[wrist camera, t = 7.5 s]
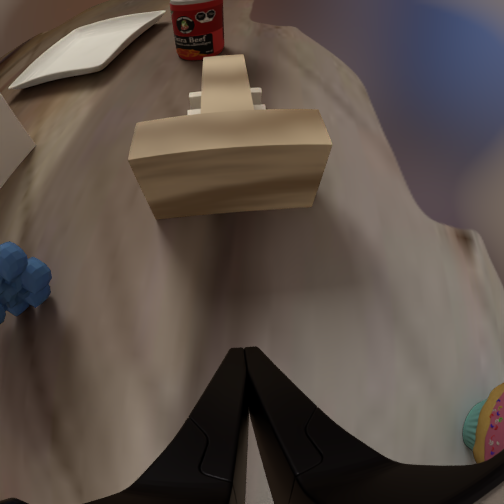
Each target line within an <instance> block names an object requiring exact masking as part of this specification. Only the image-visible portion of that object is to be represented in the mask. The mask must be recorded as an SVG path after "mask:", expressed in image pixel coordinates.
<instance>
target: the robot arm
mask: <svg viewBox="0 0 504 504" xmlns="http://www.w3.org/2000/svg"><path fill="white" fill-rule="evenodd" d="M249 413H250V418H251V422H252V426H253V430H254V433H255V437H256V441H257V445H258V448H259V452H260V456H261V459H262V463H263V467H264V470H265V474H266V477H267V481H268V484H269V488H270V491H271V494H272V498H273V501H274V504H504V449H503V450H502V451H500V452H499V453H498V454H496V455H495V456H493V457H492V458H490V459H488V460H486V461H484V462H481V463H477V464H473V465H461V466H433V465H412V464H403V463H399V462H396V461H393V460H391V459H388V458H386V457H385V456H383V455H381V454H380V453H378V452H377V451H375V450H374V449H372V448H370V447H369V446H367V445H366V444H364V443H363V442H361V441H360V440H358V439H357V438H355V437H354V436H352V435H351V434H350V433H348V432H347V431H345V430H344V429H343V428H341V427H340V426H339V425H337V424H336V423H335V422H334V421H333V420H332V419H330V418H329V417H328V416H327V415H326V414H325V413H324V412H323V411H322V410H321V409H320V408H318V407H317V406H316V405H315V404H314V403H313V402H312V401H311V400H310V399H309V398H308V397H307V396H306V395H305V394H304V393H303V392H302V391H301V390H300V389H299V388H298V387H297V386H296V385H295V384H294V383H293V382H292V381H291V380H290V379H289V378H288V377H287V376H286V375H285V374H284V373H283V372H282V371H281V370H280V369H279V368H278V367H277V366H276V365H275V364H274V363H273V362H272V361H271V360H270V359H269V358H268V357H267V356H266V355H265V354H264V353H263V352H262V351H261V350H260V349H259V348H258V347H245V348H244V349H243V348H231V349H230V350H229V351H228V353H227V355H226V356H225V358H224V360H223V361H222V363H221V365H220V366H219V368H218V370H217V371H216V373H215V374H214V376H213V378H212V379H211V381H210V383H209V384H208V386H207V388H206V389H205V391H204V392H203V394H202V396H201V397H200V399H199V401H198V402H197V404H196V405H195V407H194V409H193V410H192V412H191V413H190V415H189V418H187V420H186V421H185V423H184V424H183V426H182V427H181V429H180V430H179V432H178V433H177V435H176V436H175V437H174V439H173V440H172V441H171V443H170V444H169V445H168V446H167V447H166V449H165V450H164V451H163V452H162V453H161V454H160V455H159V457H158V458H157V459H156V460H155V461H154V462H153V463H152V464H151V465H150V466H149V468H148V469H147V470H146V471H145V472H144V473H143V474H142V475H141V476H140V477H139V478H138V479H137V480H136V481H135V482H134V483H133V484H132V485H131V486H129V487H128V488H126V489H125V490H123V491H121V492H119V493H117V494H114V495H111V496H108V497H104V498H101V499H98V500H95V501H91V502H88V503H84V504H245V494H246V472H247V450H248V428H249ZM0 504H28V503H26V502H24V501H21V500H19V499H16V498H8V499H5V500H1V501H0Z"/></svg>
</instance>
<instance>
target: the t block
mask: <svg viewBox="0 0 504 504" xmlns="http://www.w3.org/2000/svg"><path fill="white" fill-rule="evenodd" d="M332 145H333V144H332V142H331V139H330V137H329V134H328V132H327V129H326V127H325V124H324V122H323V119H322V117H321V115H320V112H319V110H312V109H265V110H254V106H253V101H252V96H251V90H250V85H249V80H248V75H247V70H246V65H245V59H244V54H242V55H224V56H211V57H203V71H202V90H201V114H194V115H185V116H178V117H170V118H163V119H157V120H151V121H145V122H139V123H137V124H136V128H135V131H134V136H133V140H132V144H131V148H130V153H129V157H128V161H129V164H130V166H131V168H132V170H133V172H134V175H135V177H136V179H137V181H138V183H139V185H140V188H141V190H142V192H143V194H144V196H145V198H146V200H147V202H148V204H149V206H150V208H151V210H152V212H153V214H154V217H155V219H156V220H157V219H166V218H176V217H186V216H196V215H207V214H219V213H231V212H243V211H256V210H271V209H286V208H303V207H312V205H313V202H314V199H315V196H316V193H317V190H318V187H319V184H320V181H321V178H322V175H323V172H324V169H325V166H326V163H327V160H328V157H329V154H330V151H331V148H332Z"/></svg>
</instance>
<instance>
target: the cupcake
mask: <svg viewBox="0 0 504 504" xmlns="http://www.w3.org/2000/svg"><path fill="white" fill-rule="evenodd" d="M463 440H464V443H465V444H466V446H467V447H469V448H470V449H472V450H473V454H474V459H475V461H476V463H481V462H484V461H486V460H488V459H490V458H492V457H493V456H495V455H496V454H498V453H499V452H500V451H502V450H503V449H504V383H502V384H501V385H499V386H497V387H496V388H494V389H493V390H492V391H491V393H490V395H489V397H488V399H486V400H484V401H482V402H480V403H478V404H476V405H475V406H474V407H473V408H472V409H471V411H470V412H469V414H468V416H467V418H466V420H465V423H464V427H463Z"/></svg>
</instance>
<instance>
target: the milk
mask: <svg viewBox="0 0 504 504" xmlns="http://www.w3.org/2000/svg"><path fill="white" fill-rule="evenodd" d="M35 146H36V144H35V142H34V141H33V140H32V138H31V137H30V136H29V134H28V133H27V131H26V130H25V129H24V127H23V126H22V124H21V123H20V122H19V120H18V119H17V117H16V116H15V114H14V113H13V111H12V110H11V108H10V107H9V105H8V104H7V102H6V101H5V99H4V98H3V96H2V95H1V93H0V189H1V187H2V186H3V185H4V183H5V182H6V181H7V179H8V178H9V177H10V176H11V174H12V173H13V172H14V171H15V169H16V168H17V167H18V166H19V165H20V163H21V162H22V161H23V160H24V159H25V157H26V156H27V155H28V154H29V153H30V152H31V151H32V150H33V148H34V147H35Z"/></svg>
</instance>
